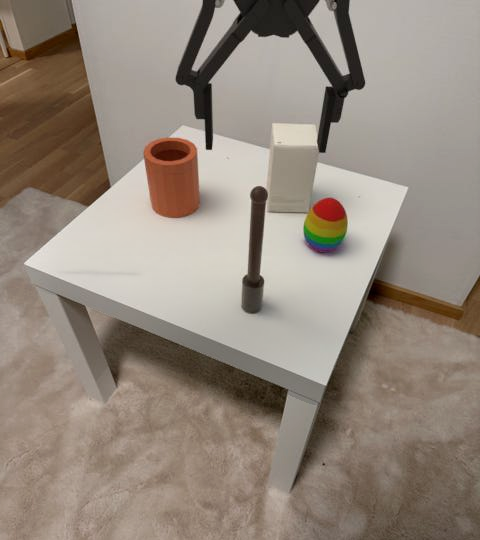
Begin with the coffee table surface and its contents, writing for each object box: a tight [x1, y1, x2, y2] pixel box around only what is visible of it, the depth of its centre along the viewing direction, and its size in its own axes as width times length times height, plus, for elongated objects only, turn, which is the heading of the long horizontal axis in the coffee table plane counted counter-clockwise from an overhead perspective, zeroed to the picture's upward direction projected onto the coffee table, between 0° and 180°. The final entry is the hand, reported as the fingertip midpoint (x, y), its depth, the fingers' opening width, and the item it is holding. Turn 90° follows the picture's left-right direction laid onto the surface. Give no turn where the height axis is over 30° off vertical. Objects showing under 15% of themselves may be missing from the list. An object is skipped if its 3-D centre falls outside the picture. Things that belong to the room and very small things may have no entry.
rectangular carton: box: [266, 122, 320, 214], centre depth 90 cm, size 9×9×15 cm
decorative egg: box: [302, 197, 349, 253], centre depth 83 cm, size 8×8×10 cm
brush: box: [240, 185, 268, 314], centre depth 67 cm, size 4×4×23 cm
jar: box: [142, 136, 201, 219], centre depth 90 cm, size 10×10×12 cm
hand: (265, 146), depth 54 cm, fingers open, 13 cm apart
